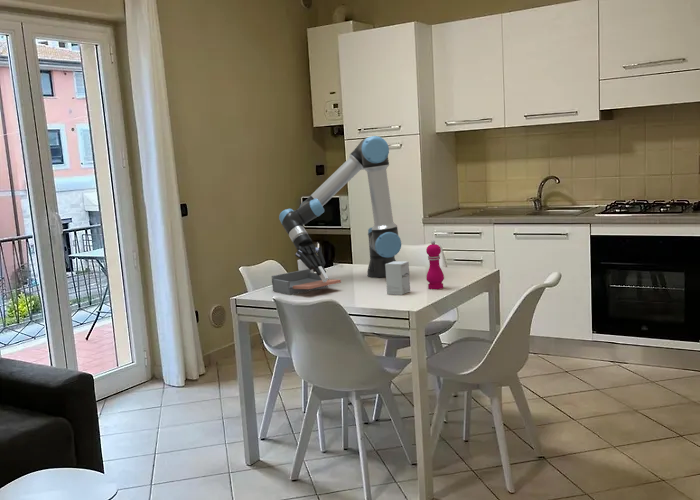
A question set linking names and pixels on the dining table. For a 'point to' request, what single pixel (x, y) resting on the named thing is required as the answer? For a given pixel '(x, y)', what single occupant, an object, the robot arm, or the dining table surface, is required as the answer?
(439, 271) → the pepper mill
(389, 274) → the supplement box
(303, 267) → the white cup
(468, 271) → the dining table surface
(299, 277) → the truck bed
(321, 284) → the panel
